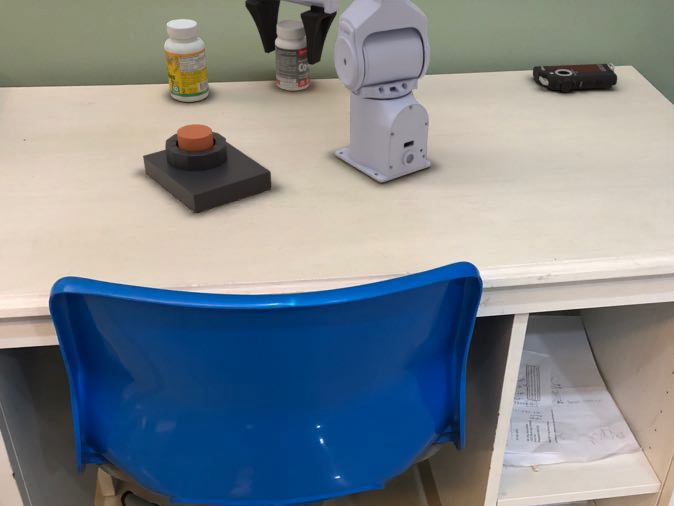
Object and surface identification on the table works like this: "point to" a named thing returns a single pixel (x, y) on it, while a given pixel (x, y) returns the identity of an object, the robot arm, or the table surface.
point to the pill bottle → (291, 56)
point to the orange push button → (195, 137)
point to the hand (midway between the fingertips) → (292, 56)
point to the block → (207, 173)
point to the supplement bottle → (186, 61)
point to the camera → (576, 76)
